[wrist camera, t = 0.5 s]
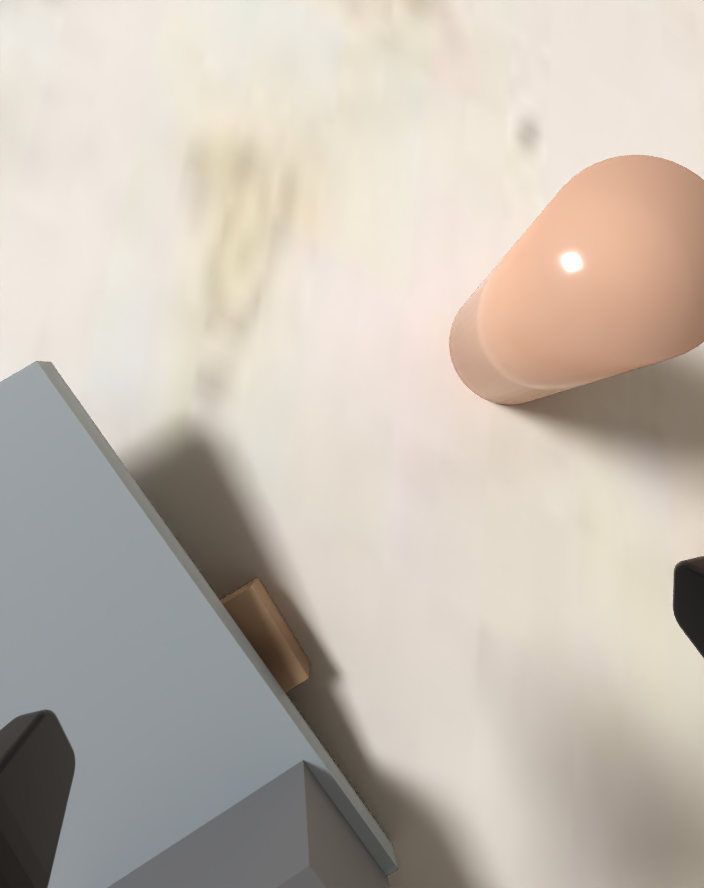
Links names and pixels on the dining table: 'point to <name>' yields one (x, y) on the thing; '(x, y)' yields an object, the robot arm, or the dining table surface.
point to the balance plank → (152, 683)
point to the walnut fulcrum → (268, 633)
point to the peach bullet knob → (590, 285)
